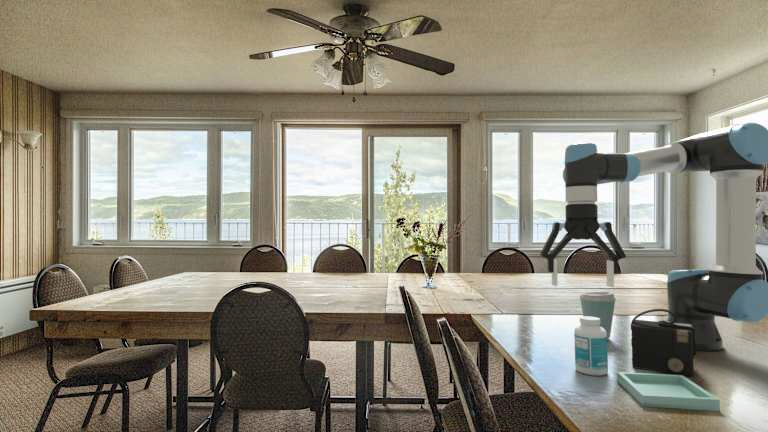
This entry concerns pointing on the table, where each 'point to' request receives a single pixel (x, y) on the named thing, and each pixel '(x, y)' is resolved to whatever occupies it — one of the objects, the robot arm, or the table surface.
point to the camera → (663, 345)
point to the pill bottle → (591, 347)
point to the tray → (667, 391)
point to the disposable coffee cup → (599, 308)
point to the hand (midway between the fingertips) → (582, 285)
